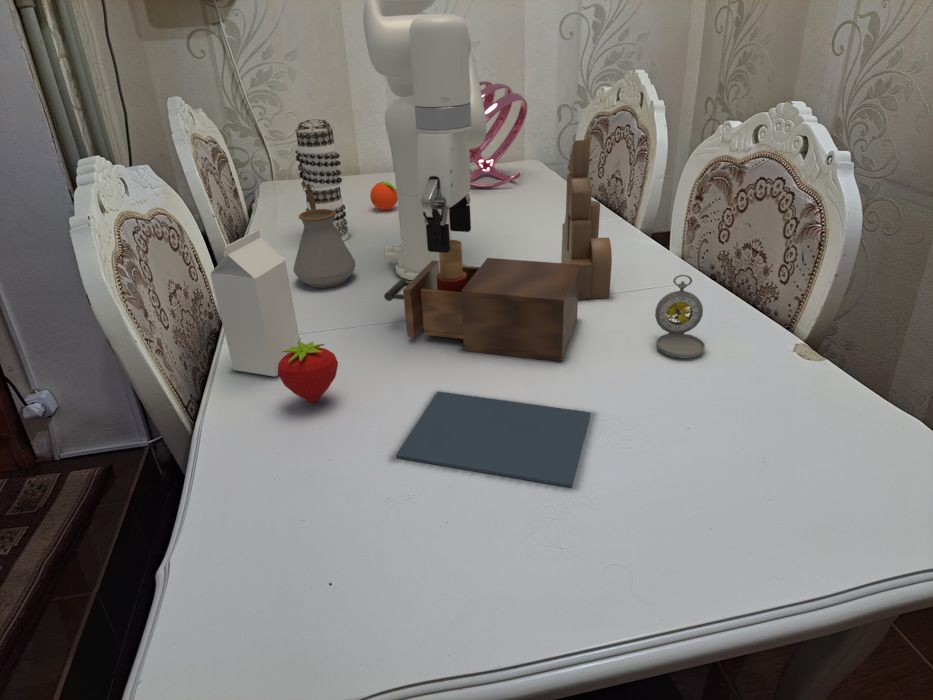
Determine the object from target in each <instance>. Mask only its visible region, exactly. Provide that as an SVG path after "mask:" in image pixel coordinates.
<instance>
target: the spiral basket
mask: <svg viewBox="0 0 933 700" xmlns="http://www.w3.org/2000/svg"><path fill="white" fill-rule="evenodd" d="M479 84H480V87H481V86H484V87H483V88H482V89H481V94H482V99H483V104H484V110H485V116H486V124H488V122H489V121H490V120H491V119H492V118H494V116H495V115H497V116H496V118H495V120H494V122H493V124H492V125H491V126H490V128H489V129H488V131H486V136H485V139H484V141H483V143H482V144H481V145H480V146H478V147H476V148H473V149H469V157H470V163H475V165H477V168H475V169H474V170H472V171H470V178H471V181H470V188H475V189H492V188H497V187H500V186H502V185H506V184H507V183H509V182H511V181H515V180H516V179H518V178H520V177H521V175H522V173H521V172H518V173H517V174H515V175H511V174H510V175H509V174H506V173H504V172H502V171H500V170H499V169H497V168H496V167H495V165H496V163H498V161H499V160H500V159H501V158H502V157H503V156H504V155H505V153H506V152H507V151H508V150H509V148H510V147H511V146H512V144H513V142H514V141H515V140H516V138H517V137H518V134H519V133H520V131H521V130H522V128H523V125H524V123H525V121H526V118H527V114H528V103H527V100H526V98H524V96H523V95H521V94H520V93H517V92H513V90H512V89H511V87H510V86H509V85H507V84H505V83H500V82H499V83H492V82H490V81H486V80H483V81H482V80H481V81H479ZM501 89H503V91H504V95H503V96H501V97H500V98H498V99H496V100H495V96H496V91H498V90H501ZM518 101H519V102H520V107H519V110H518V113H517V114H518V115H517V117H516V119H515V122H514V123H513V125H512V126H511V129H510V131H508V134H507V135H506V136H505V138H504V139H503V141H502V142H501V144H500V145H499V146H498V148H497V149H496V150H495V151H494V152H493V153H492V154H491V156H489V157H487V158H483V156H482V153H483V152H484V151H485V149H486V148H487V147H489V145H490V144H491V143H492V141H493V140H494V139H495V138H496V137H497V135H498V133H499V132H500V130H501V129H502V127H503V125H504V124H505V122H506V120H507V119H508V117H509V114H510V111H511V109H512V106H513V103H514V102H518ZM485 174H486V175H487V174H488V175H490V176H492V177H494V178H496V179H499V180H501V181H499V182H495V183H489V184H487V183H486V184H482V183H481V184H480V183H479V184H478V183H473V181H474V180H477V179H478V178H480V177H481V176H483V175H485Z"/></svg>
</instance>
